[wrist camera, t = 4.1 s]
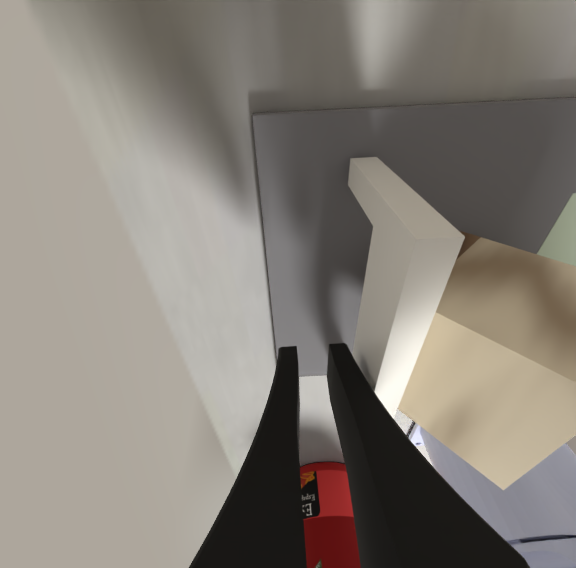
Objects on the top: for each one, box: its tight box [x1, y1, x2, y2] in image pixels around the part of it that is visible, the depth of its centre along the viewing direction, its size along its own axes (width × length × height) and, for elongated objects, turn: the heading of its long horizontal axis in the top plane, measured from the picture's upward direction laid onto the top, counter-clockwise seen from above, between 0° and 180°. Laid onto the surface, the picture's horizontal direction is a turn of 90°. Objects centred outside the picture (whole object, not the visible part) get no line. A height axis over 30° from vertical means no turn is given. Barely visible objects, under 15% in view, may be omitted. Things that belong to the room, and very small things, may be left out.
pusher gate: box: [348, 157, 465, 419], centre depth 12 cm, size 1×13×6 cm, turn 2°
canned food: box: [300, 462, 361, 568], centre depth 29 cm, size 8×8×11 cm
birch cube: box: [398, 230, 576, 490], centre depth 12 cm, size 6×6×6 cm
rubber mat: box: [252, 97, 576, 377], centre depth 15 cm, size 26×16×1 cm, turn 92°
